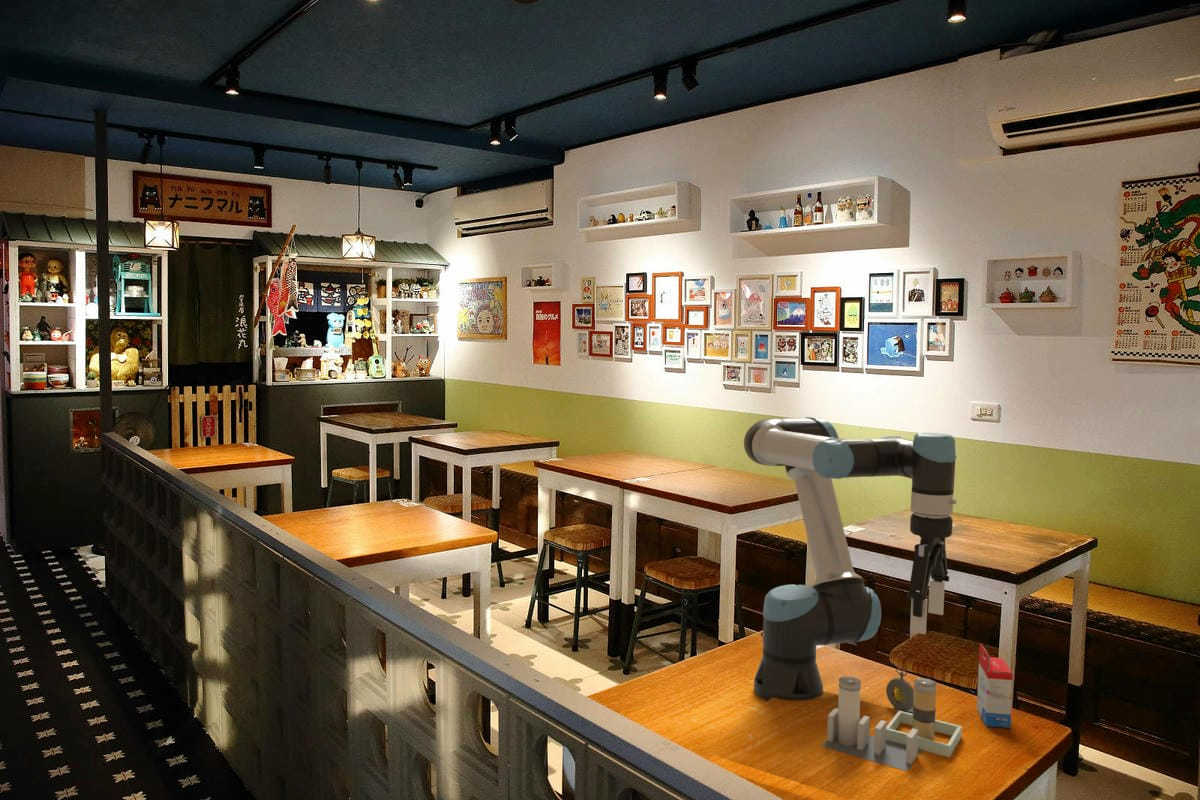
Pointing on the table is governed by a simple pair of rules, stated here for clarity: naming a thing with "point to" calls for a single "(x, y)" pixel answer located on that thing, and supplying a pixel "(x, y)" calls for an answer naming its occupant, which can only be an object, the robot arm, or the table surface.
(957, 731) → the parts tray
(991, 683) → the ink box
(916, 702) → the cylinder
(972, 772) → the table surface
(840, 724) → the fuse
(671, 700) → the table surface
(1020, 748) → the table surface
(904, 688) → the pocket watch
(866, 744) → the fuse board
